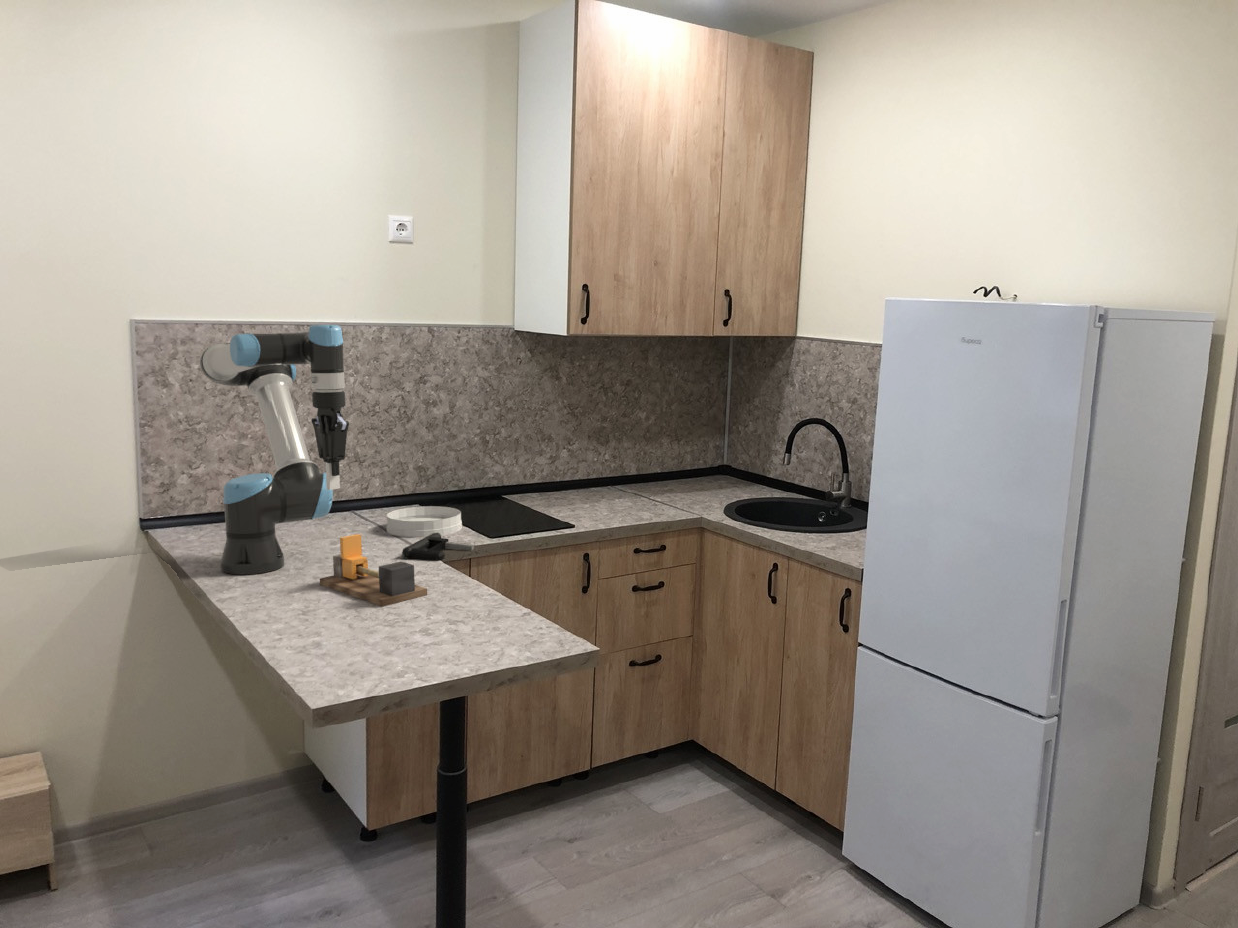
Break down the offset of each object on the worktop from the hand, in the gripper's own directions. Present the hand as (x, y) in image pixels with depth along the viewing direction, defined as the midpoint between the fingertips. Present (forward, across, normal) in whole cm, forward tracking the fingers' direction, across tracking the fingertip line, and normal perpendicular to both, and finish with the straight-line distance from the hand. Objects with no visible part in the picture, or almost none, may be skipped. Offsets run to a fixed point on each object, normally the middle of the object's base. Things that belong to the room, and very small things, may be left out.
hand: (333, 488), depth 235 cm
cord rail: (+22, +15, 0) cm, 27 cm away
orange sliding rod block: (+20, +8, 0) cm, 22 cm away
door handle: (+23, -3, +33) cm, 40 cm away
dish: (+23, -29, +47) cm, 60 cm away
